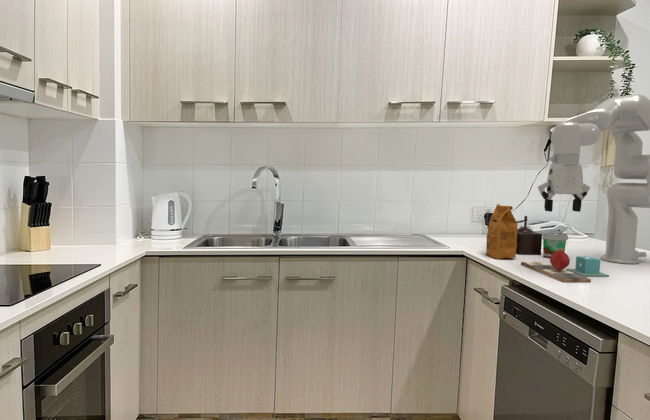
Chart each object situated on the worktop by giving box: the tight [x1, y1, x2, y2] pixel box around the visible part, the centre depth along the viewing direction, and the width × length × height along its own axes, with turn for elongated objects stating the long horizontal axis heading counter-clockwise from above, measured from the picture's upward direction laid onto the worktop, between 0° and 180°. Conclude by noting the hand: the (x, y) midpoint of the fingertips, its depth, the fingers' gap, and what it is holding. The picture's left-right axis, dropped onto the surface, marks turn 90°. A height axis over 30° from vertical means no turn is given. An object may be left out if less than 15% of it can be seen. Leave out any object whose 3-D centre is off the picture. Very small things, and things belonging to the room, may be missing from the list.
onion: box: [549, 248, 571, 271], centre depth 133 cm, size 6×6×8 cm
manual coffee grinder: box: [516, 215, 543, 256], centre depth 173 cm, size 16×11×18 cm
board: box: [520, 261, 592, 283], centre depth 137 cm, size 9×25×1 cm, turn 2°
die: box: [574, 255, 601, 274], centre depth 136 cm, size 5×5×5 cm
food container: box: [542, 231, 569, 259], centre depth 163 cm, size 12×6×10 cm, turn 117°
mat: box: [565, 268, 610, 278], centre depth 136 cm, size 9×9×1 cm
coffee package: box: [485, 203, 519, 260], centre depth 162 cm, size 10×12×22 cm
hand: (562, 211), depth 132 cm, fingers open, 9 cm apart
